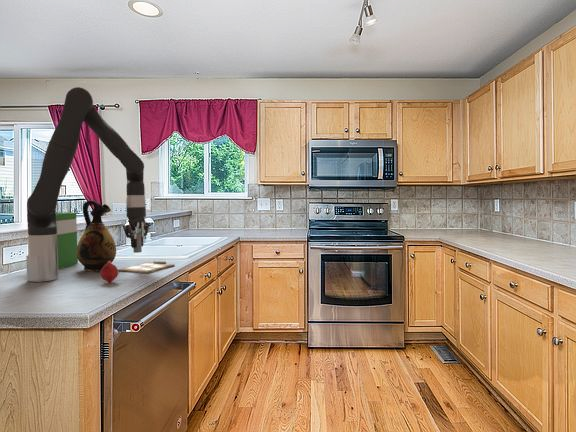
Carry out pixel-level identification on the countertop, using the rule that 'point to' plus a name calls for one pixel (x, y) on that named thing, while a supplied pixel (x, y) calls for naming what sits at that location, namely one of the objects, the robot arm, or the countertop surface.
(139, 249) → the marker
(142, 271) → the clipboard
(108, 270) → the onion
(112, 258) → the ceramic jug
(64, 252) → the hardback book
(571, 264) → the countertop surface
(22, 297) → the countertop surface
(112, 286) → the countertop surface
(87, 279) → the countertop surface
